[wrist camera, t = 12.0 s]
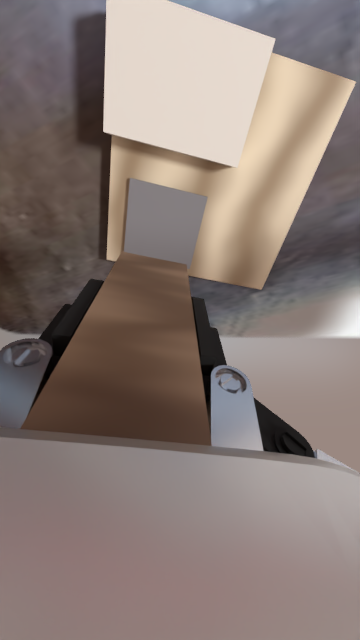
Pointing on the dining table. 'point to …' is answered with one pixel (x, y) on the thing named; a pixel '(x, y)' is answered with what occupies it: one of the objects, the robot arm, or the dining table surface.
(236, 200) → the board
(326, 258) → the dining table surface
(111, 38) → the tile
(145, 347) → the brown wooden block
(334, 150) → the dining table surface
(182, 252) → the mat
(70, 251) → the dining table surface
